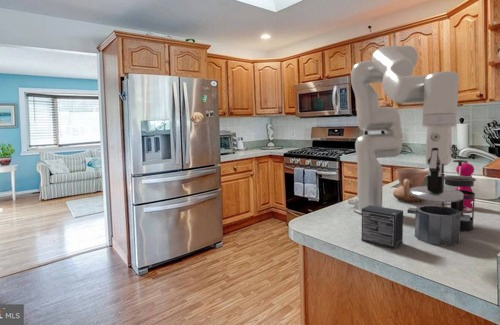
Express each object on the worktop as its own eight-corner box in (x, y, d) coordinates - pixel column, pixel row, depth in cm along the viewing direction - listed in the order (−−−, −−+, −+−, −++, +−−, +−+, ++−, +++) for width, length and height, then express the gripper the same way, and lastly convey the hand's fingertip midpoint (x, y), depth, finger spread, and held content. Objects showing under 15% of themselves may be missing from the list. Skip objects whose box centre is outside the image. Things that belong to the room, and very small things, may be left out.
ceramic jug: (399, 194, 150) (399, 166, 148) (432, 198, 140) (433, 168, 138) (387, 203, 137) (387, 172, 135) (422, 207, 127) (423, 174, 125)
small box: (403, 243, 92) (404, 209, 90) (395, 250, 87) (396, 215, 86) (369, 235, 99) (370, 204, 98) (360, 240, 95) (360, 208, 93)
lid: (405, 197, 81) (405, 177, 80) (414, 188, 91) (415, 169, 90) (461, 204, 73) (462, 181, 73) (465, 193, 83) (466, 173, 82)
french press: (444, 219, 111) (447, 157, 108) (476, 225, 104) (480, 159, 101) (436, 228, 103) (439, 161, 100) (470, 234, 96) (474, 163, 93)
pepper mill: (477, 209, 121) (480, 160, 118) (457, 209, 122) (459, 160, 120) (468, 205, 128) (471, 158, 125) (449, 204, 129) (451, 158, 127)
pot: (403, 238, 95) (404, 211, 94) (411, 227, 104) (412, 202, 103) (467, 250, 85) (468, 219, 84) (469, 237, 94) (471, 209, 93)
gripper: (453, 121, 70) (448, 198, 73) (459, 119, 83) (455, 184, 86) (416, 122, 75) (413, 194, 78) (428, 120, 88) (425, 182, 90)
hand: (435, 188), depth 82 cm, fingers closed on lid, 3 cm apart
